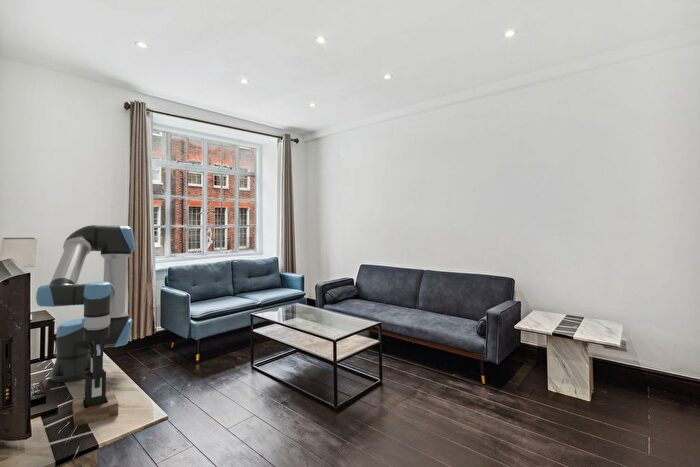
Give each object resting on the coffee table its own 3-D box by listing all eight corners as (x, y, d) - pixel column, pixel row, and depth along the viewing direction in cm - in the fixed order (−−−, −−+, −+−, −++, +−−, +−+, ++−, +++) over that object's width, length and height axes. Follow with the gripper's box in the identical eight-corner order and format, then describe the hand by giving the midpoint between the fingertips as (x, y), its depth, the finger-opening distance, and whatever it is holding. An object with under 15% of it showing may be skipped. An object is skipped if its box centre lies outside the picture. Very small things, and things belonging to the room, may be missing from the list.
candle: (106, 407, 124) (108, 337, 123) (90, 414, 119) (91, 341, 118) (99, 403, 126) (101, 334, 125) (83, 409, 122) (84, 338, 121)
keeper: (72, 410, 123) (72, 399, 123) (113, 400, 131) (113, 389, 131) (74, 426, 114) (74, 414, 114) (118, 414, 122) (118, 403, 122)
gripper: (81, 321, 126) (80, 384, 127) (85, 336, 112) (84, 407, 113) (106, 318, 131) (105, 379, 132) (113, 332, 117) (112, 400, 118)
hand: (95, 392), depth 123 cm, fingers closed on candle, 6 cm apart
